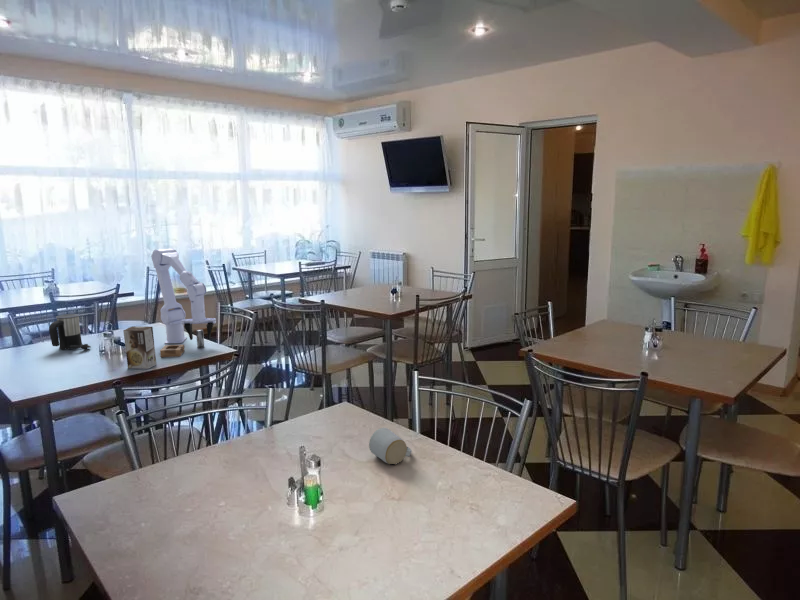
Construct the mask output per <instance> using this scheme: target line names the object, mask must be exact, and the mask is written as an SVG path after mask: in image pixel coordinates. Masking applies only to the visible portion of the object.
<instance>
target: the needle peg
mask: <svg viewBox="0 0 800 600" xmlns="http://www.w3.org/2000/svg"><path fill="white" fill-rule="evenodd" d="M195 333H196V345H197V349H204V348H205V338H204V337H205V336H204V329H196V331H195Z"/></svg>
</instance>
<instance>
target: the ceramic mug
mask: <svg viewBox="0 0 800 600" xmlns="http://www.w3.org/2000/svg"><path fill="white" fill-rule="evenodd" d="M368 447H369V451H370V453H372V455H375V456H376V457H377V458H378V459H380V460H381V461H383V462H384V463H386V464H388V465H390V464H395V465H397V464H396V463H398V464H400V463H401V462H402V461H403V460H404V459H405V457H410V456H411V455H412V452H413V451H412V449H411V448H410V447H409V446H407V444H406V442H405V440H404V439H402V437H400V436H399V435H397V434H395V432H394V431H392V430H391V429H390V428H388V427H380V428H378V429H376V430H375V431H374V432H373V433H372V435H371V436H370V438H369V442H368ZM410 454H411V455H410ZM399 462H400V463H399Z"/></svg>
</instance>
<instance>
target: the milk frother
mask: <svg viewBox="0 0 800 600" xmlns="http://www.w3.org/2000/svg"><path fill="white" fill-rule="evenodd" d="M79 316H80V314H79V313H67V314H60V315H57V316H55V318H56V321H53V322H52V323H50V325H49V327H48V331H49V336H50V341H51V345H52V346H53V347H58V348H59V349H61V350H72V349H74V350H75V349H82V350H84V351H86V350H88V349H90V348H92V346H91V345H89V344H88V343H84V344H83V342H82V334H81V326H80V317H79Z"/></svg>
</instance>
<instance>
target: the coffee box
mask: <svg viewBox="0 0 800 600" xmlns="http://www.w3.org/2000/svg"><path fill="white" fill-rule="evenodd" d="M153 329H154V327H153V326H137V325H136V326H135V325H134V326H130V327H128V328H126V329H123V330H122V331H123V338H124V339H123V340H124V347H125V355H126V364H127V369H141V370H143V369H146V370H147V369H151V368H152V367H154V366H156V365H157V360H156V348H155V340H154V339H155V338H154V330H153Z"/></svg>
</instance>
